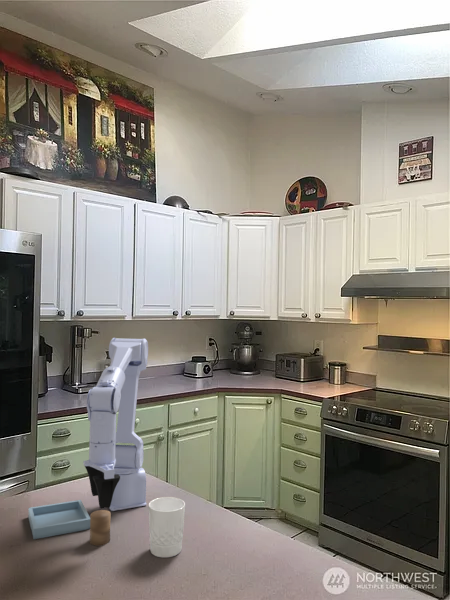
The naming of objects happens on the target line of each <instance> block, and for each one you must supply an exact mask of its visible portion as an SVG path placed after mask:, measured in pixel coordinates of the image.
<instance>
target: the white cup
mask: <svg viewBox="0 0 450 600" xmlns="http://www.w3.org/2000/svg"><path fill="white" fill-rule="evenodd" d="M185 509H186V502H185V501H184V500H183V499H181V498H179V497H174V496H162V497H157V498H154V499H152V500H150V501H149V503H148V530H149V533H148V534H149V536H148V537H149V550H150V553H151V554H152V555H153V556H155V557H156V558H157V557H158V558H163V559H164V558H172V557H175V556H177V555H178V554H180V553H181V551H182V545H183V537H184V536H183V535H184V526H185V513H186V512H185Z"/></svg>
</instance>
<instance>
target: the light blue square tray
mask: <svg viewBox="0 0 450 600" xmlns="http://www.w3.org/2000/svg"><path fill="white" fill-rule="evenodd" d="M27 513H28V515H27V516H28V522H29V526H30V529H31V530H30V531H31V534H32V538H33V540H36V539H38V540H39V539H43V538H48V537H53V536H59V535H65V534H71V533H77V532H81V531H87V530H90V515H89V513H88V511H87V509H86V507H85V505H84V504H83V501H82V499H78V500H77V499H76V500H70V501H63V502H57V503H51V504H44V505H39V506H38V505H37V506H31V507H28V511H27Z"/></svg>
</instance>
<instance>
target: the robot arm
mask: <svg viewBox="0 0 450 600" xmlns="http://www.w3.org/2000/svg"><path fill="white" fill-rule="evenodd" d="M108 357H109V359H110V365H109V366H108V367H105V368H104V369H103V370H102V372H101V375H100V377H99V379H98V381H97V382H96V385H95V386H93V387H92V388H90V389H89V391H88V393H87V397H86V410H87V420H88V421H89V440H88V441H89V447H88V450H89V451H88V459H87V460H83V462H82V464H83V466H84V468H85V470H86V472H87V475H88V480H89V484H90V486H89V487H90V490H91V494H92V497H97V499H98V500H97V501H98V505H99V508H100V509H99V510H104V509H107V508H108V509H109V510H110V512H114V511H120V510H121V511H122V510H126V509H132V508H133V509H134V508H140V507H142V506H143V507H144V506H147V504H148V503H147V498H146V497H147V474H146V471H145V468H143V463H144V440H143V439H142V437H140V436H139V435H137V433H136V432H135V424H136V416H137V415H136V412H137V404H138V403H137V399H138V388H139V378H140V375H141V372H142V371H146V369H147V366H148V362H149V361H148V360H149V342H148V340H147V339H146V338H123V337H121V338H117V337H112V338H111V340H110V341H109V345H108ZM117 413H118V415H117ZM130 444H131V445H130ZM132 444H133V445H132Z"/></svg>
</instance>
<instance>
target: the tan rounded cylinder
mask: <svg viewBox="0 0 450 600" xmlns="http://www.w3.org/2000/svg"><path fill="white" fill-rule="evenodd" d="M111 515H112V513H111V510H110V511H109V510H108V509H99V510H94V511H93V512H91V513H90V515H89V517H90V529H89V544H90V545H91V546H95V547H96V546H97V547H98V546H99V547H100V546H104V545H107V544H109V543H110V542H111V541H110V540H111V520H112V518H111V517H112V516H111Z"/></svg>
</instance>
